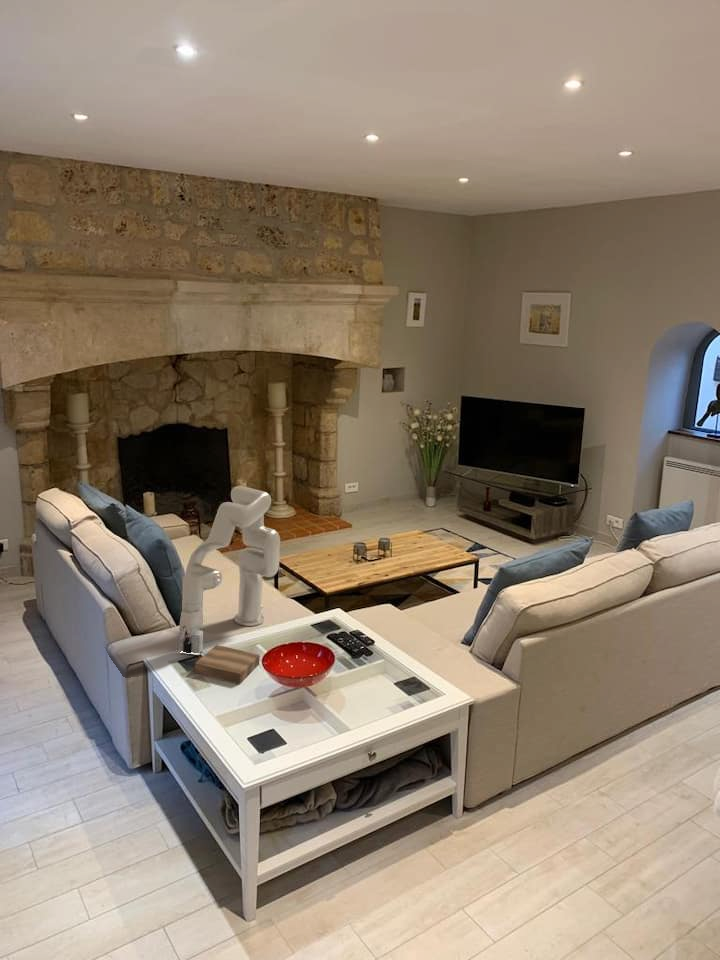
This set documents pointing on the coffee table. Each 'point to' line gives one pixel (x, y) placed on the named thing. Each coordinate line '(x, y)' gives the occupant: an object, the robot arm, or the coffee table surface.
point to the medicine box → (194, 642)
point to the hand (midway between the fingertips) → (191, 648)
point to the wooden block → (227, 664)
